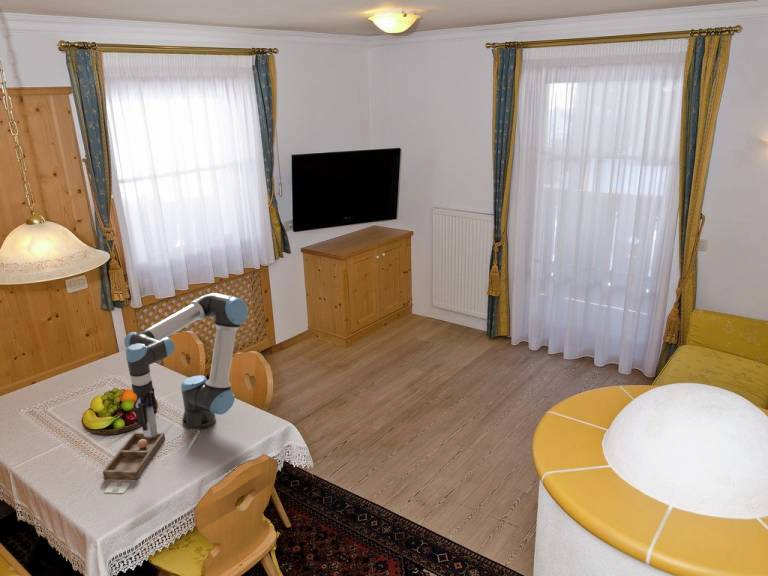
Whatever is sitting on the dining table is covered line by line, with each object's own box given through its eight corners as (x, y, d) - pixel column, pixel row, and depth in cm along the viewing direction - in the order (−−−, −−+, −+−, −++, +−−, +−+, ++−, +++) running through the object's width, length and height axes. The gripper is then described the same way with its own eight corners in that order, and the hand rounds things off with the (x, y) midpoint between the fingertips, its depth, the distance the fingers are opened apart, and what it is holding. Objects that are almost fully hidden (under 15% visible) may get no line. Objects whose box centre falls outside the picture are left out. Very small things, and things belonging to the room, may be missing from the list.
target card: (130, 483, 237) (130, 482, 237) (123, 493, 231) (123, 492, 231) (111, 483, 237) (111, 482, 237) (103, 492, 232) (103, 491, 232)
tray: (165, 440, 265) (164, 433, 264) (137, 480, 239) (136, 472, 237) (135, 439, 266) (134, 432, 264) (104, 479, 240) (102, 471, 238)
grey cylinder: (159, 430, 241) (155, 405, 237) (154, 438, 237) (149, 412, 233) (147, 430, 242) (143, 405, 238) (142, 437, 237) (137, 412, 233)
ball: (149, 444, 260) (148, 437, 259) (145, 450, 257) (144, 442, 255) (140, 444, 261) (139, 437, 259) (136, 450, 257) (135, 442, 255)
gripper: (142, 370, 239) (151, 419, 247) (121, 393, 223) (131, 444, 231) (160, 371, 239) (168, 419, 247) (140, 393, 222) (149, 445, 230)
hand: (150, 431), depth 239 cm, fingers closed on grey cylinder, 5 cm apart
